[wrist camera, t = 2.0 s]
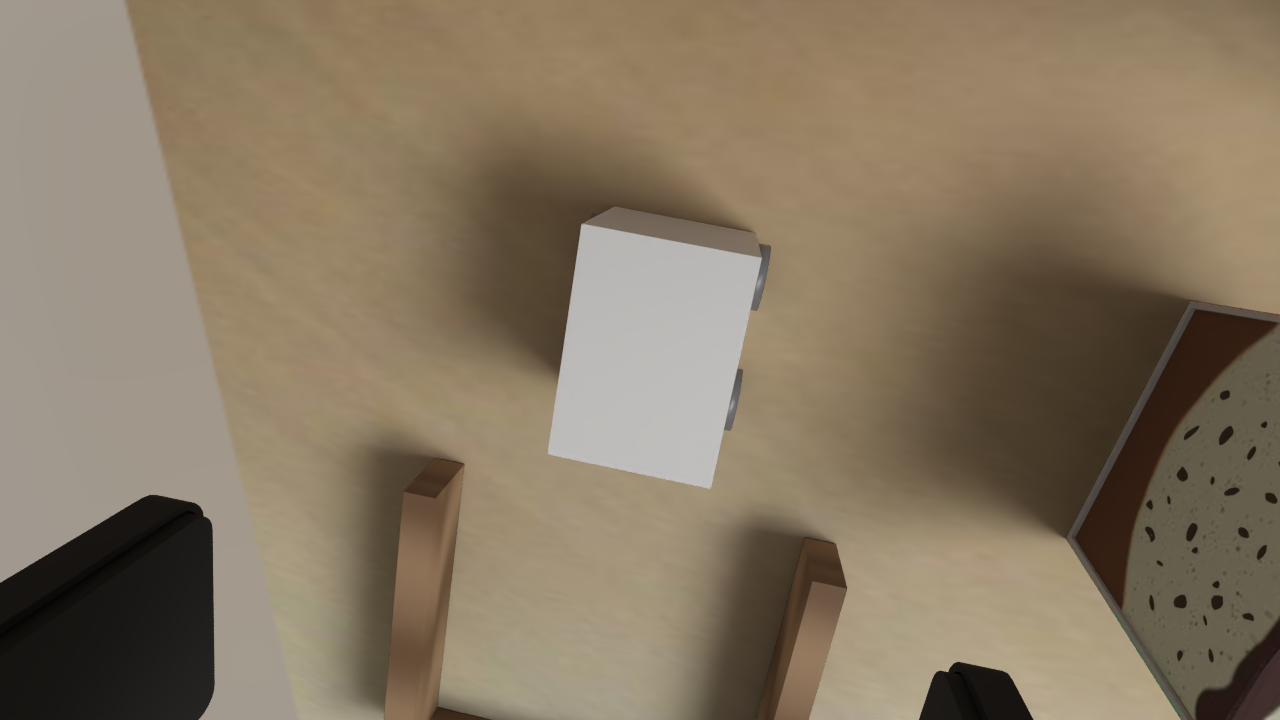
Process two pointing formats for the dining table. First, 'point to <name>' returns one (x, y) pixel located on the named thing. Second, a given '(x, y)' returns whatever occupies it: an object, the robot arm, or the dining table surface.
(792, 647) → the bay
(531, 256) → the dining table surface
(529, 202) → the dining table surface
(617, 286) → the block
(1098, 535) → the food container
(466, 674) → the dining table surface
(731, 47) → the dining table surface
